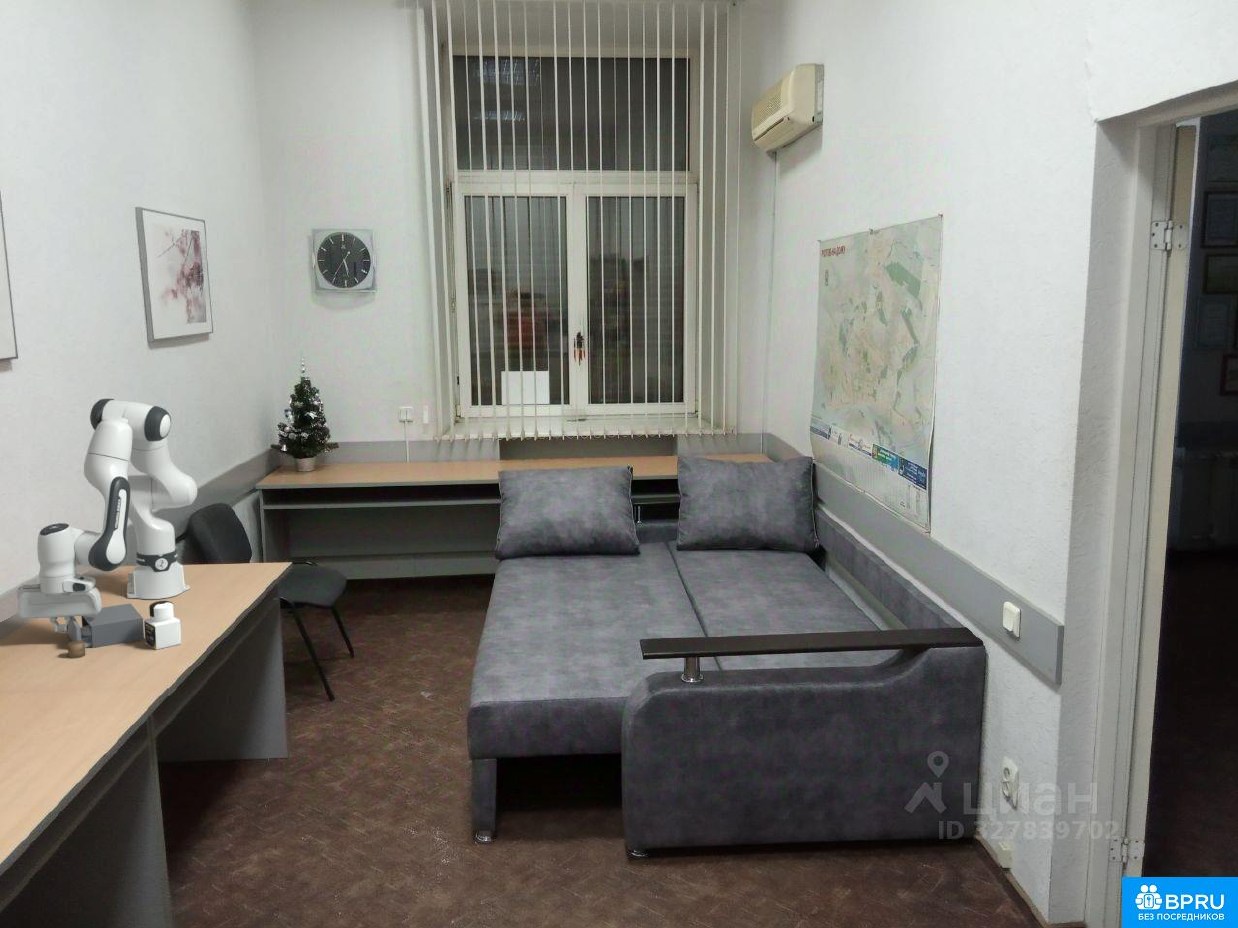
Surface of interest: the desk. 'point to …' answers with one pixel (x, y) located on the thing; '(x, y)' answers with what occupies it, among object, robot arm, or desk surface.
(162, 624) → the medicine bottle
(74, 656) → the brown rounded piece
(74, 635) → the tray
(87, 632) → the disc
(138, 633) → the housing
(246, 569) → the desk surface
